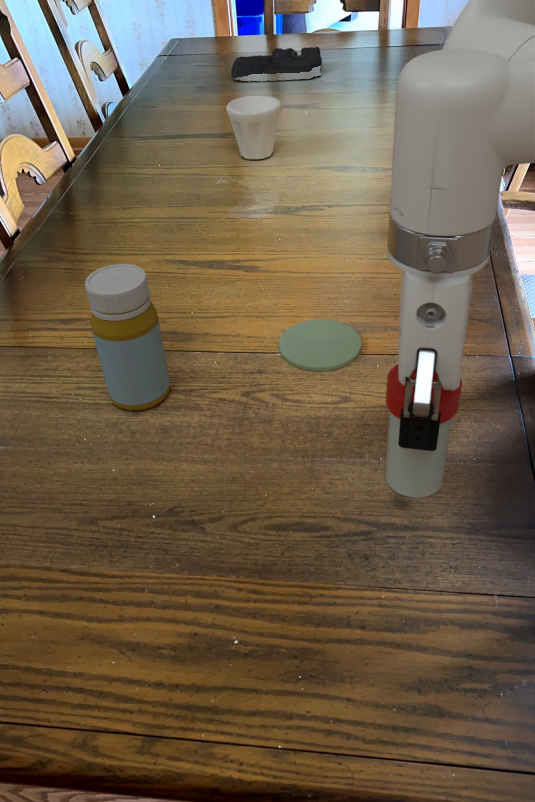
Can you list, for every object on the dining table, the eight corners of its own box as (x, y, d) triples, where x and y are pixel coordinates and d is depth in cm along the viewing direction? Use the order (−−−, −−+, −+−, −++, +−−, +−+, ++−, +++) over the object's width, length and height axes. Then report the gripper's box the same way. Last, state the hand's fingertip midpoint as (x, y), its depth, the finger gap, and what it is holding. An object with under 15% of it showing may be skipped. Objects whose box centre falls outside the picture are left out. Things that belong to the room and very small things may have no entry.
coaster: (376, 337, 87) (376, 333, 87) (335, 381, 81) (335, 377, 81) (306, 315, 92) (306, 311, 92) (262, 355, 86) (262, 351, 86)
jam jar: (453, 469, 70) (466, 379, 63) (428, 506, 66) (440, 415, 59) (400, 448, 72) (408, 360, 65) (374, 483, 69) (379, 394, 62)
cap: (372, 410, 63) (374, 388, 61) (405, 372, 67) (407, 350, 65) (440, 435, 60) (443, 413, 58) (470, 394, 64) (473, 372, 62)
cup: (242, 169, 130) (238, 117, 124) (222, 151, 137) (217, 101, 131) (292, 157, 133) (290, 106, 127) (270, 141, 140) (267, 91, 134)
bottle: (173, 408, 79) (151, 291, 70) (109, 418, 79) (79, 301, 69) (169, 371, 85) (148, 257, 75) (110, 379, 84) (81, 266, 74)
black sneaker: (235, 65, 182) (233, 45, 179) (321, 61, 180) (321, 40, 177) (229, 83, 170) (227, 62, 167) (322, 79, 168) (322, 57, 165)
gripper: (492, 303, 46) (461, 490, 57) (491, 189, 59) (465, 361, 70) (374, 294, 47) (366, 479, 59) (398, 185, 60) (388, 354, 71)
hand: (420, 414), depth 64 cm, fingers open, 7 cm apart
